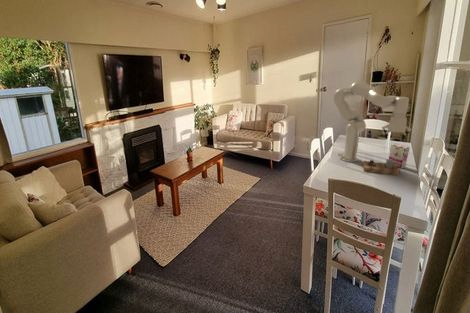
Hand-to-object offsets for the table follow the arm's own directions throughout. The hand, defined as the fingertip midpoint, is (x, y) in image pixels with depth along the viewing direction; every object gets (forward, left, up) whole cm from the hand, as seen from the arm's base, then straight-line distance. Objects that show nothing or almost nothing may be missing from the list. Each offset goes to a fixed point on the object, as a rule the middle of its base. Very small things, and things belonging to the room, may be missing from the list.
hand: (394, 139), depth 173 cm
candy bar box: (+7, +12, -24) cm, 28 cm away
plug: (0, 0, -24) cm, 24 cm away
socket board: (-5, 0, -24) cm, 25 cm away
